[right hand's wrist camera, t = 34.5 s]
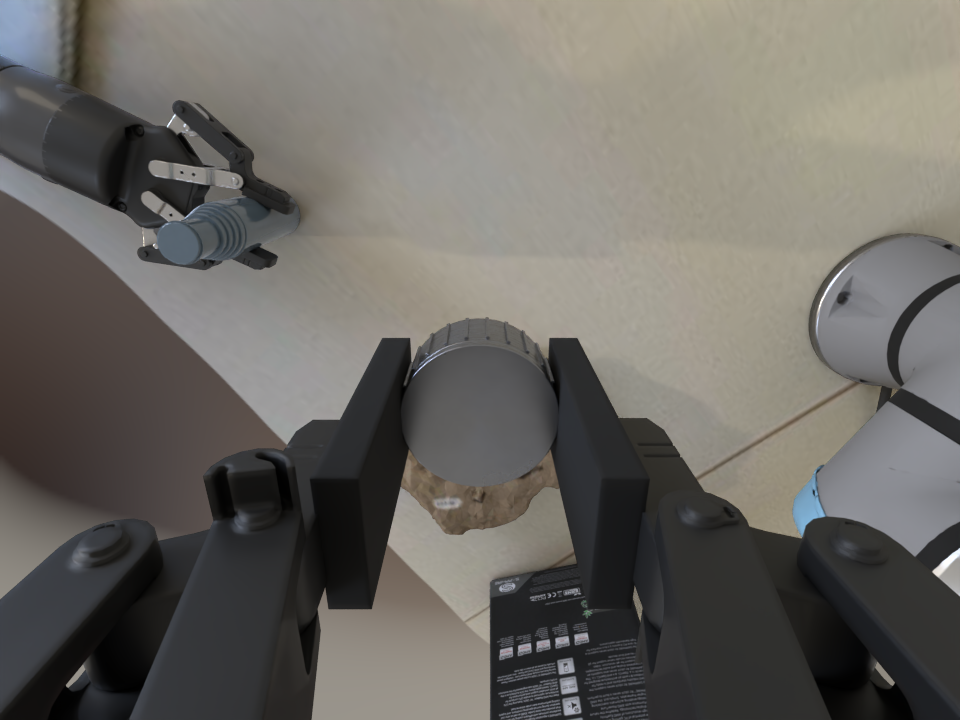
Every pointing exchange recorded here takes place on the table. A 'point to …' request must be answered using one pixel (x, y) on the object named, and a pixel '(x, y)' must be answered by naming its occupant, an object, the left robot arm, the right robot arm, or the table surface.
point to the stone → (475, 496)
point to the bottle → (224, 230)
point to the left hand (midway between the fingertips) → (281, 236)
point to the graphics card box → (561, 652)
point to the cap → (479, 403)
